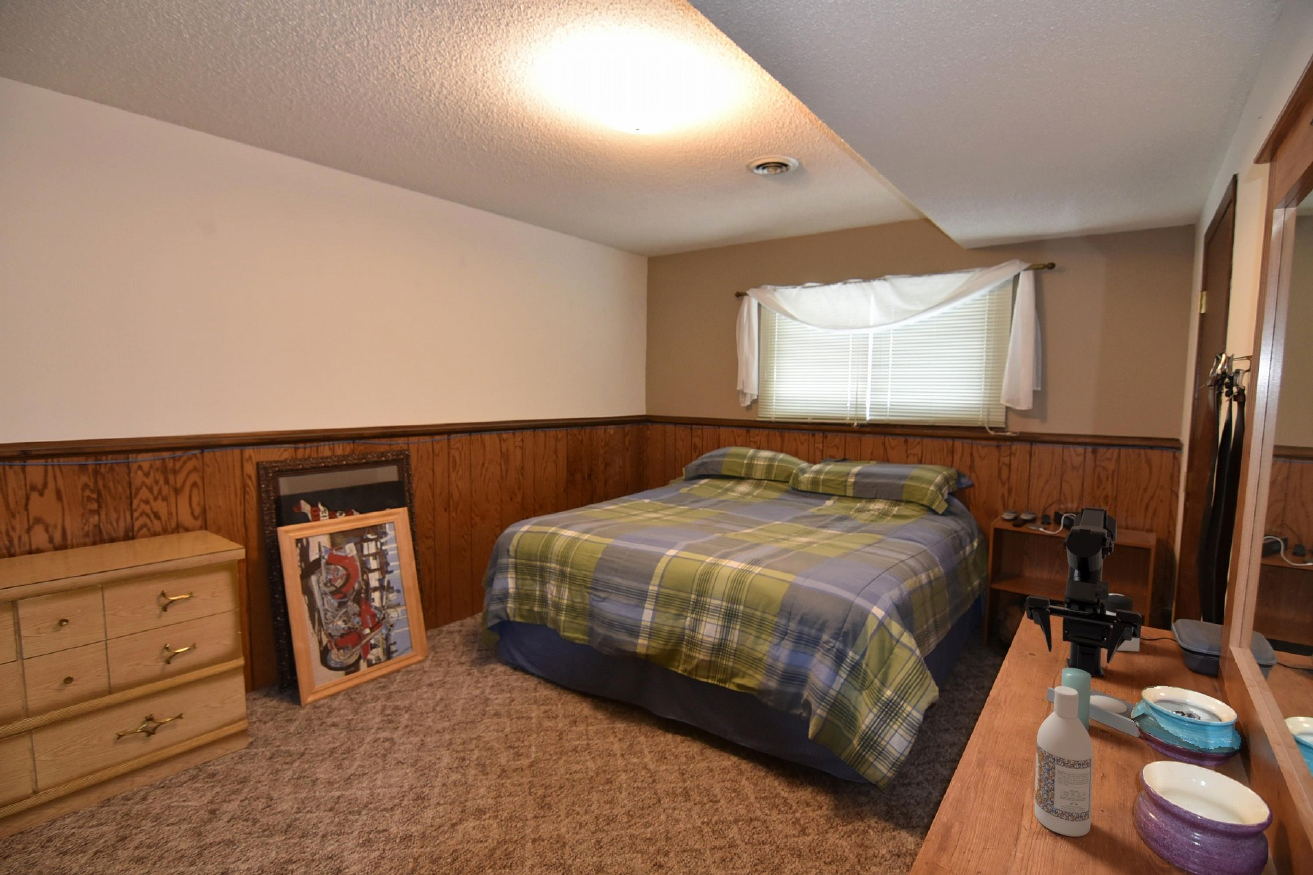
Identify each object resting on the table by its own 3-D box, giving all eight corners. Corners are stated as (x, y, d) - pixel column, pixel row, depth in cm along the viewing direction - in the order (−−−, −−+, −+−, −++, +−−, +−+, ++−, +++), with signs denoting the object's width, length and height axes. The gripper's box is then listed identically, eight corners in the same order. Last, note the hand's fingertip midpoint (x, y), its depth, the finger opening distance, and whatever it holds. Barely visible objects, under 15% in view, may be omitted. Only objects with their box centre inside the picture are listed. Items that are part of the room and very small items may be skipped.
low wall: (1046, 699, 130) (1047, 687, 130) (1049, 698, 131) (1049, 686, 130) (1137, 737, 116) (1137, 724, 116) (1139, 736, 117) (1139, 722, 116)
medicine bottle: (1140, 652, 151) (1142, 601, 150) (1105, 650, 153) (1107, 600, 151) (1124, 640, 158) (1126, 591, 157) (1091, 638, 160) (1093, 590, 158)
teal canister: (1059, 716, 124) (1060, 666, 123) (1087, 721, 122) (1089, 670, 121) (1061, 728, 120) (1063, 675, 119) (1090, 733, 118) (1092, 680, 117)
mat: (1068, 705, 128) (1068, 699, 128) (1093, 693, 132) (1094, 688, 132) (1119, 726, 120) (1119, 720, 120) (1144, 713, 124) (1144, 707, 124)
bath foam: (1039, 800, 100) (1043, 674, 98) (1093, 819, 95) (1098, 688, 94) (1029, 824, 95) (1034, 692, 93) (1086, 845, 90) (1092, 707, 88)
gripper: (1028, 556, 131) (1018, 626, 123) (1143, 570, 120) (1141, 649, 112) (1031, 584, 138) (1023, 652, 130) (1141, 600, 127) (1139, 675, 119)
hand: (1078, 656), depth 123 cm, fingers open, 9 cm apart
